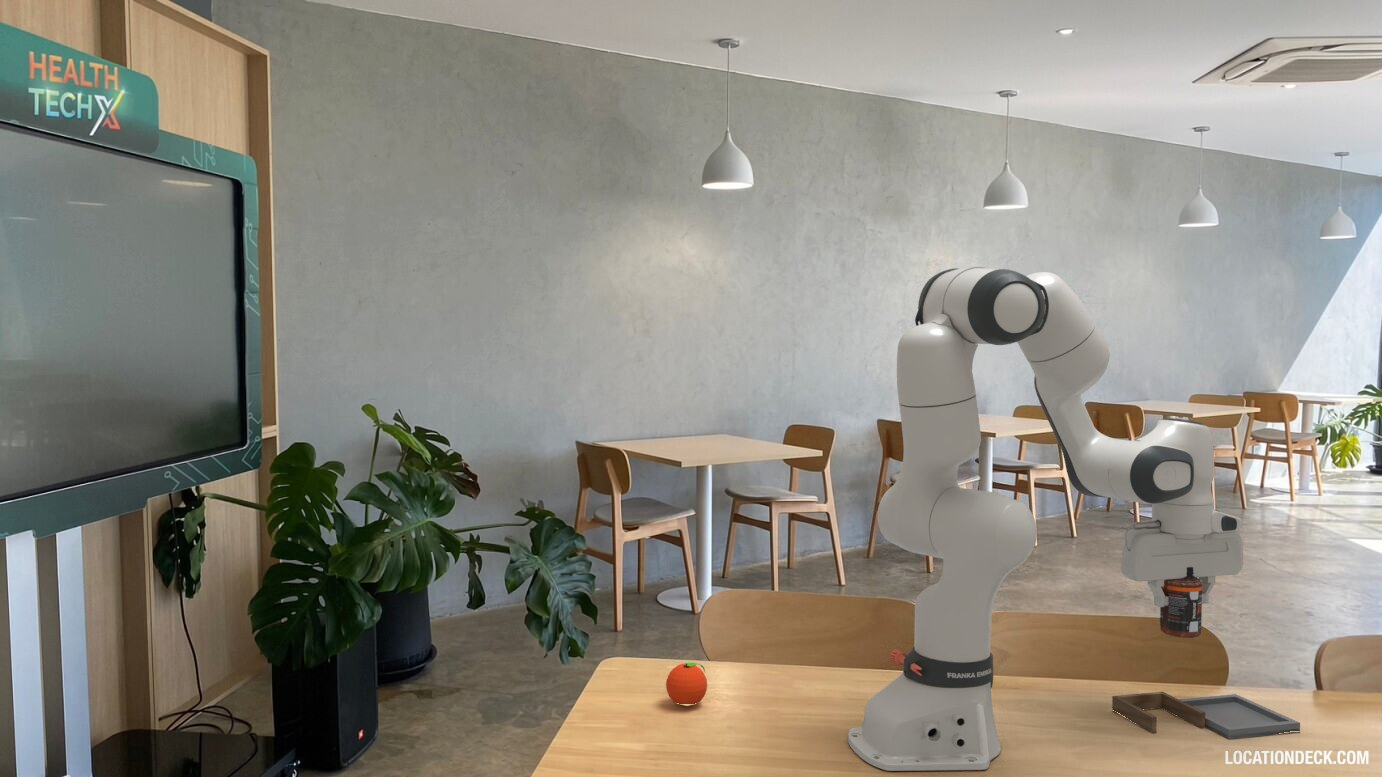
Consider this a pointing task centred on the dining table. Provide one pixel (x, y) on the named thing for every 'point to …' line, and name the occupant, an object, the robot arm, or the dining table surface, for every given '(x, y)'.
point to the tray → (1241, 717)
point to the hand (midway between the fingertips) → (1181, 604)
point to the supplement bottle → (1182, 606)
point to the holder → (1136, 703)
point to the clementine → (686, 684)
